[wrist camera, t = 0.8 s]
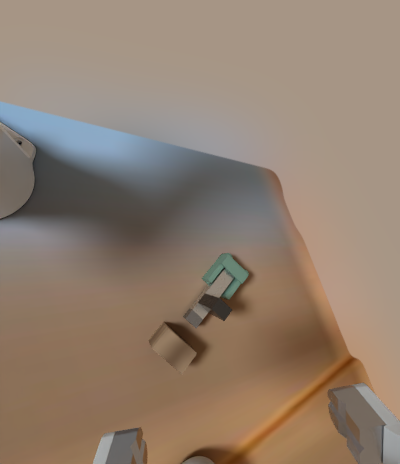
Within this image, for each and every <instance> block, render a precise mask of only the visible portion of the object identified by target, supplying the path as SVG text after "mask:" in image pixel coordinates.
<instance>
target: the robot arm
mask: <svg viewBox="0 0 400 464" xmlns="http://www.w3.org/2000/svg"><path fill="white" fill-rule="evenodd" d="M18 143H22V144H21V145H19V144H18ZM35 154H36V148H35V146H34V145H33V144H32V143H31V142H30V141H28V140H27V139H25V138H24V137H22V136H21V135H19V134H17V133H16V132H14V131H13V130H11V129H10V128H8V127H7V126H5V125H4V124H2V123H1V122H0V219H1V218H3V217H6V216H8V215H10V214H12V213H14V212H15V211H17V210H18V209H19V208H21V207H22V206H23V205H24V204H25V203H26V201H27V200H28V199H29V197H30V195H31V193H32V191H33V188H34V182H35V176H34V170H33V160H34V157H35ZM328 397H329V399H330V400H331V402H330V403H329V405H328V407H329V413H330V416H331V419H332V421H333V423H334V425H335V427H336V429H337V430H338V432H339V433H340V434H341V435H342V436H344V437H345V438H347V447H348V448H349V450H350V452H351V453H352V455H353V456H354V458H355V460H356V461H357V463H358V464H381V463H383V464H400V421H399V420H398V419H397V418H396V416H395V415H394V414H393V413H392V412H391V411H390V410H389V409H388V408H387V407H386V406H385V404H384V403H383V402H382V401H381V400H380V399H379V398H378V397H377V396H376V395H375V394H374V392H373V391H372V390H371V389H370V388H369V387H368V386H367V385H366V384H364V383H359V384H354V385H347V386H343V387H338V388H334V389H329V390H328ZM142 436H143V432H142V429H141V427H139V428H134V429H128V430H122V431H115V432H110V433H105V434H104V435H103V437H102V438H101V441H100V444H99V447H98V450H97V453H96V456H95V458H94V461H93V464H147V445H146V442H145V441H144V440H143V439H142Z"/></svg>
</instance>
